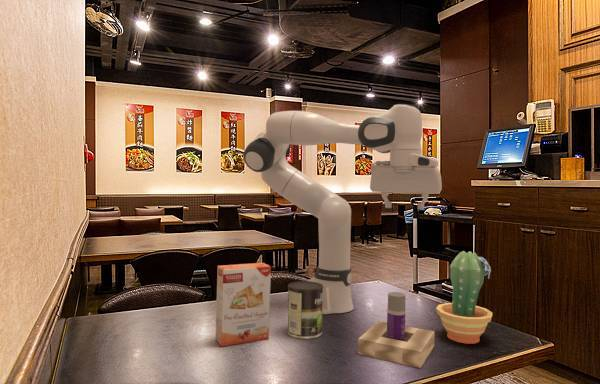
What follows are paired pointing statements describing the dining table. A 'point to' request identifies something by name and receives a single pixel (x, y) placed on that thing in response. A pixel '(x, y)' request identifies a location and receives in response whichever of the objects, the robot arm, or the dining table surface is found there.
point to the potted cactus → (466, 299)
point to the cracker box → (242, 303)
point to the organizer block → (397, 345)
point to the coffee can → (305, 309)
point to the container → (396, 316)
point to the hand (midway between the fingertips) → (404, 208)
